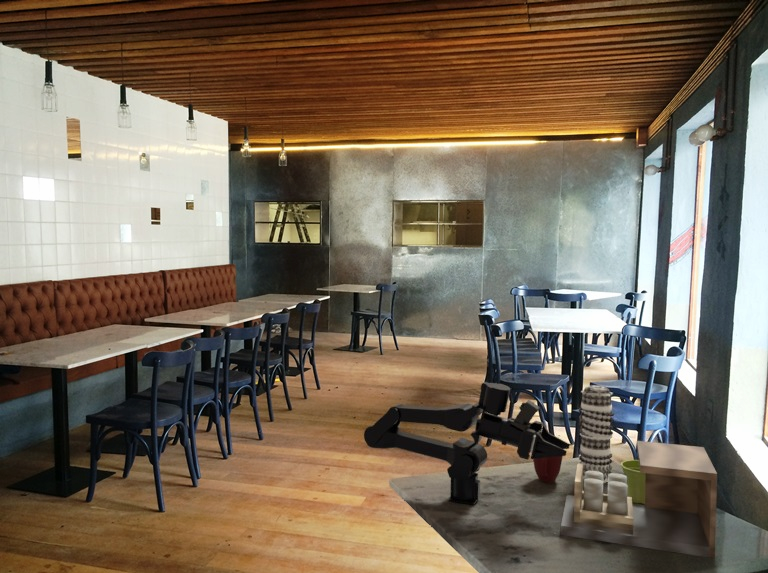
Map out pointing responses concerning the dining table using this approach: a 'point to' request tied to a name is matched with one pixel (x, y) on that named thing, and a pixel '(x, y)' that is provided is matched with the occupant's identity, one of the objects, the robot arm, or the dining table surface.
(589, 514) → the tray
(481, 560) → the dining table surface
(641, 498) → the plant pot
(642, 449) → the wooden display stand
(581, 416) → the white patterned cylinder
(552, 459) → the mug
